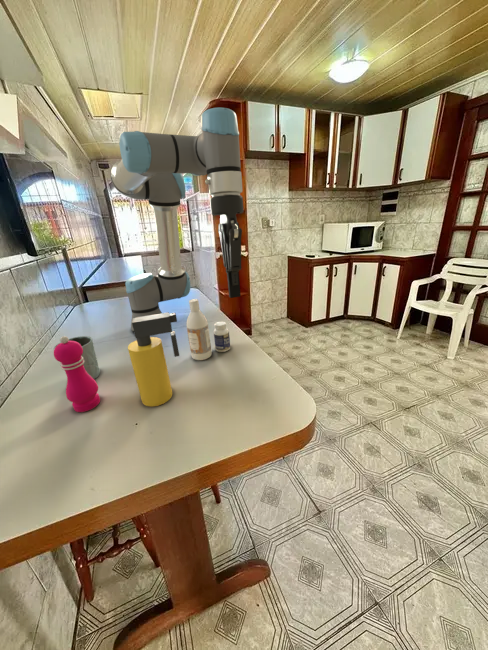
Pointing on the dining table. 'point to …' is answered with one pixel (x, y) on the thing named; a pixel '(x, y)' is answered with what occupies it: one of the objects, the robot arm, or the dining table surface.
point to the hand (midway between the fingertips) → (234, 296)
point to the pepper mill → (76, 376)
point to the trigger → (174, 343)
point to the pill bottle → (221, 337)
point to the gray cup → (88, 355)
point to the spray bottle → (151, 358)
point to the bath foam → (198, 332)
